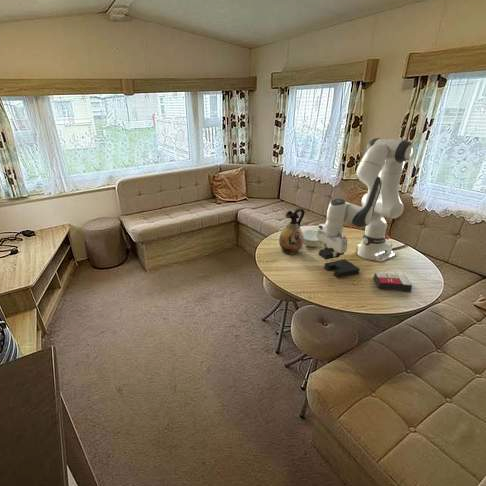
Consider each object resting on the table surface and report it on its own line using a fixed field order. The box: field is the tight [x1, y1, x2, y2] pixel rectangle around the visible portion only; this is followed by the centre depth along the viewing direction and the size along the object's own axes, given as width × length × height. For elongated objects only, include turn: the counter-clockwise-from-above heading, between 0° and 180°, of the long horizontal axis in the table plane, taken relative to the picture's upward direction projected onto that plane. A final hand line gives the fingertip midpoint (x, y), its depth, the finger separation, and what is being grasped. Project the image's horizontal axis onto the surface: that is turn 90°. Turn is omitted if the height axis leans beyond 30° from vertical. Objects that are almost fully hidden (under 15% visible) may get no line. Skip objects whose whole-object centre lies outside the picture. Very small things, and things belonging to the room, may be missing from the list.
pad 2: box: [324, 258, 360, 279], centre depth 173 cm, size 14×12×3 cm
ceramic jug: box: [278, 207, 305, 255], centre depth 190 cm, size 17×15×30 cm
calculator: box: [373, 272, 413, 292], centre depth 159 cm, size 11×4×15 cm
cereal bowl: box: [301, 229, 323, 248], centre depth 203 cm, size 17×17×7 cm
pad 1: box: [318, 247, 345, 261], centre depth 163 cm, size 13×6×3 cm, turn 109°
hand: (329, 252), depth 163 cm, fingers closed on pad 1, 6 cm apart
